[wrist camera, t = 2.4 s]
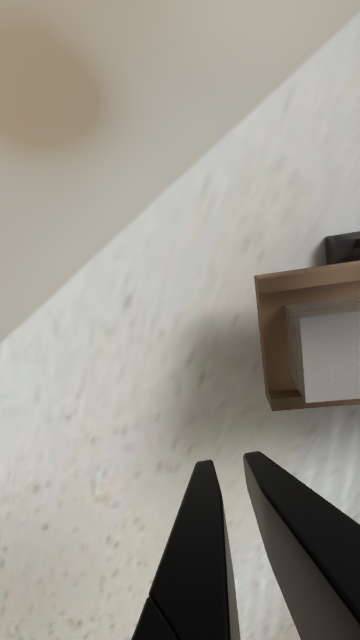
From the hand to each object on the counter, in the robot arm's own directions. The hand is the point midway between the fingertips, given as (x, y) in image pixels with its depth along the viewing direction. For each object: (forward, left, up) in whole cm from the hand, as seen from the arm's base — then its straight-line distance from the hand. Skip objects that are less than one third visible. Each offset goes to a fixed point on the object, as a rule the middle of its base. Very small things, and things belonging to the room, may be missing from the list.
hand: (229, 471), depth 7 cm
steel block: (0, -8, -8) cm, 11 cm away
